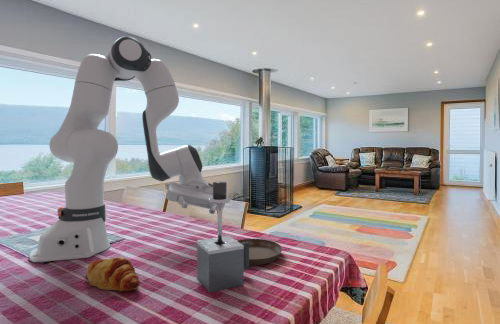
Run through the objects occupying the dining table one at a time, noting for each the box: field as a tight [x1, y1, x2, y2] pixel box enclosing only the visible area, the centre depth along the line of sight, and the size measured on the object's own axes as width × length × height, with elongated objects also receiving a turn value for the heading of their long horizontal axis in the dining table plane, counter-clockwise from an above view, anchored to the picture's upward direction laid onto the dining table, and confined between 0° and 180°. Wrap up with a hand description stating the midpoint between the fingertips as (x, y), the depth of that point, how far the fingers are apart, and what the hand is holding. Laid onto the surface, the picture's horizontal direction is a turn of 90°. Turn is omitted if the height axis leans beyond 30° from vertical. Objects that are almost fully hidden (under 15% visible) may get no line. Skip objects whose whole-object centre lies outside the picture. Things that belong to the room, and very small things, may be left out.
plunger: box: [209, 181, 231, 244], centre depth 81 cm, size 5×5×15 cm
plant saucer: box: [236, 238, 283, 266], centre depth 100 cm, size 18×18×3 cm
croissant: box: [86, 256, 141, 292], centre depth 81 cm, size 21×10×8 cm, turn 55°
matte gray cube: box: [196, 235, 250, 294], centre depth 82 cm, size 12×9×10 cm
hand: (199, 209), depth 103 cm, fingers open, 8 cm apart
